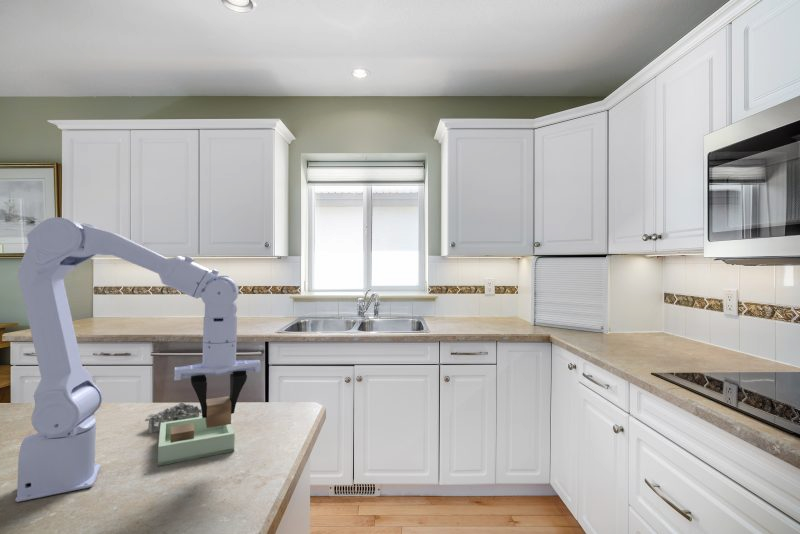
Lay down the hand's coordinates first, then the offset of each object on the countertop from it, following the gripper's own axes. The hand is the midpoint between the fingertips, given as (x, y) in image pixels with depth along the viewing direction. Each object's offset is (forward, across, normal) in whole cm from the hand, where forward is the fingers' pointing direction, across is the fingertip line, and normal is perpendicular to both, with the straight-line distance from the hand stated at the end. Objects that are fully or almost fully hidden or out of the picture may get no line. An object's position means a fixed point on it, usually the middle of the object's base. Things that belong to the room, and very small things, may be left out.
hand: (218, 414), depth 73 cm
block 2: (+2, 0, 0) cm, 2 cm away
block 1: (+9, -6, +9) cm, 14 cm away
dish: (+9, -3, +11) cm, 15 cm away
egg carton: (+10, -7, +25) cm, 28 cm away
